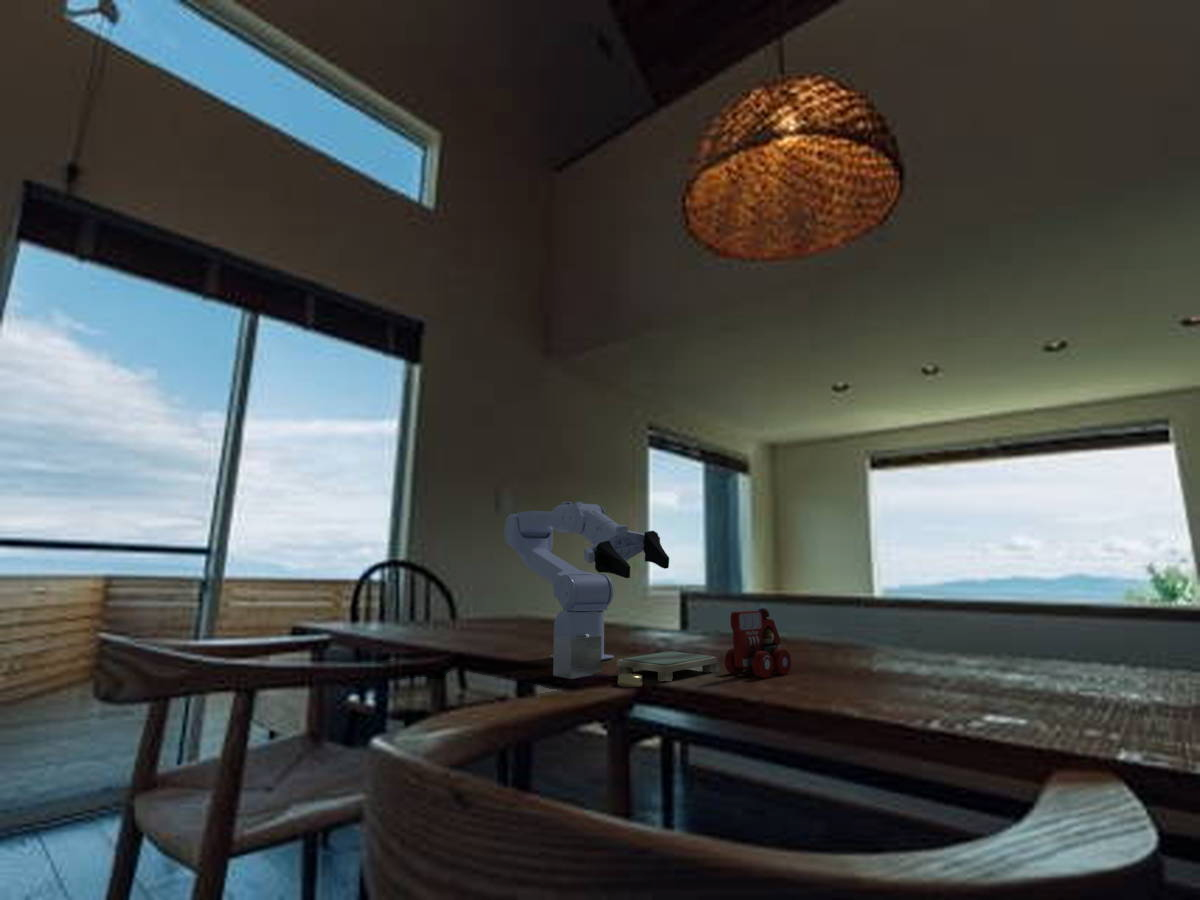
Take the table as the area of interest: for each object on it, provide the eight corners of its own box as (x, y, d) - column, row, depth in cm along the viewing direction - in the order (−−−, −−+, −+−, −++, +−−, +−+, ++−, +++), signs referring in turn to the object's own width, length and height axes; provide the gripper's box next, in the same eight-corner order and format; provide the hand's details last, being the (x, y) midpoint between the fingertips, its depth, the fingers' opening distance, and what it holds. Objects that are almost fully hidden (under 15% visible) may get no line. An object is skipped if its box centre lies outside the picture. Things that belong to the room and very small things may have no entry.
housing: (553, 676, 104) (553, 635, 105) (583, 671, 109) (583, 632, 110) (570, 679, 101) (571, 637, 102) (601, 673, 106) (601, 634, 107)
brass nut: (612, 686, 96) (612, 675, 96) (628, 683, 99) (628, 672, 99) (631, 689, 94) (631, 678, 94) (647, 686, 96) (647, 675, 97)
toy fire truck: (798, 672, 108) (795, 608, 109) (755, 681, 99) (752, 611, 101) (762, 667, 113) (760, 606, 114) (718, 675, 104) (716, 609, 106)
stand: (616, 674, 105) (616, 658, 105) (669, 665, 115) (669, 650, 115) (666, 682, 98) (666, 665, 98) (717, 671, 108) (717, 655, 108)
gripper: (572, 523, 114) (610, 554, 103) (642, 509, 121) (685, 537, 110) (572, 559, 116) (609, 593, 105) (640, 544, 123) (682, 575, 112)
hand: (648, 567), depth 108 cm, fingers open, 7 cm apart
